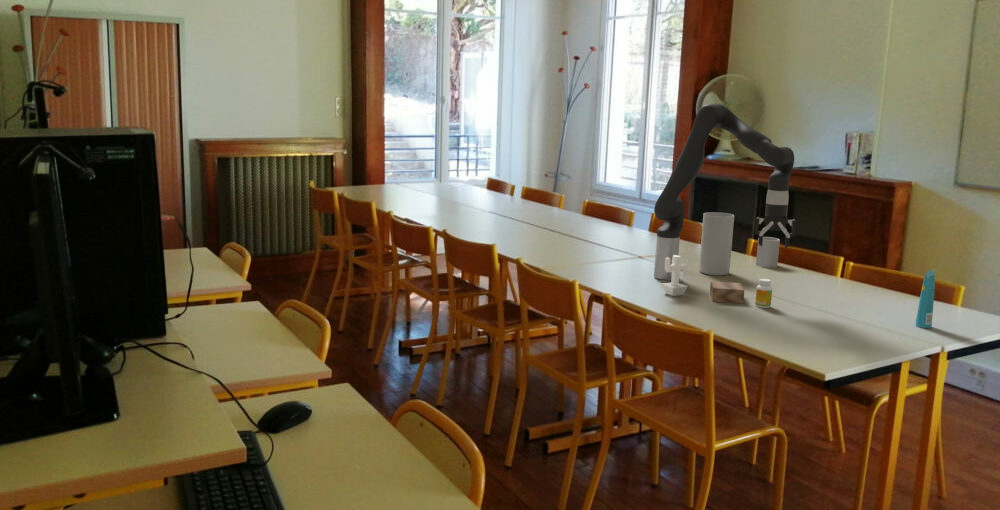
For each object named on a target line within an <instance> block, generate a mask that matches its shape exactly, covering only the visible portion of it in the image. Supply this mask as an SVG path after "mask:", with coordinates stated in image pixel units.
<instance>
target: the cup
mask: <svg viewBox="0 0 1000 510" xmlns="http://www.w3.org/2000/svg"><path fill="white" fill-rule="evenodd" d="M780 241H781V240H780V239H779V238H777V237H771V236H763V243H762V246H760V245H759V237H758V238H757V250H756V259H755V260H756V261H755V266H757V267H761V268H769V269H771V268H777V267H778V265H779V263H778V262H779V253H780V252H779V251H780V244H781V242H780Z"/></svg>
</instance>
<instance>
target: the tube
mask: <svg viewBox="0 0 1000 510" xmlns="http://www.w3.org/2000/svg"><path fill="white" fill-rule="evenodd" d="M935 276H936V275H935V269H932V270H929V271H926V272H925V274H924V278H923V283H922V286H921V291H920V296H919V301H918V307H917V314H916V319H915V326H916V327H918V328H922V329H931V328H932V324H933V314H934V302H935V284H936V281H935V279H936V278H935Z"/></svg>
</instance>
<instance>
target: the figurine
mask: <svg viewBox="0 0 1000 510" xmlns="http://www.w3.org/2000/svg"><path fill="white" fill-rule="evenodd" d="M681 258H682V257H681V255H679V256H678V255H673V258H672V265H671V264H670V262H671V259H670V258H666V259H665V271H666V272H672V277H671V280H670V281H671V282H664V283H663V282H662V283H661V286H662V288H663V291H664V293H665V294H667V295H668V296H672V297H677V296H678V297H679V296H683V295H684V293H685V292H686V290H687V289H688V288H689V285H685V284H683V283H680V277H681V278H683V279H686V278H687V271H688V268H687V267H688V266H687V264H686V263H681Z"/></svg>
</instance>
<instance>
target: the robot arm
mask: <svg viewBox="0 0 1000 510" xmlns="http://www.w3.org/2000/svg"><path fill="white" fill-rule="evenodd" d="M719 128H720V129H722V130H724V131H726V132H729V133H730V134H731V135H733V136H734V137H735V139H737V141H738V142H740V144H741V145H742V146H744V147H745V148H747V150H750V151H751V152H753V153H754V154H756V155H758V156H759V157H760V159H762V160H763V161H764V162H765V163H766V164H768V165H769V166H771V167H774V169H773V172H772V173H771V174H770V175H769V177H768V183H767V184H768V185H767V193H766V200H765V211H764V212H765V214H764V218H762V217H759V216H757V217H756V218H755V223H754V225H755V226H754V231H753V233H754V235H757V236H758V238H759V245H760V246H762V243H763V237H764V234H765V233H767V231H771V232H772V231H777V232H780V231H782V233H783V234H784V235H785V238H784V239H785V241H784V249H787V248H788V247H789V246H790V241H791V240H790V239H791V238H793V237H796V231H797V230H796V227H797V225H796V224H797V222H796V219H794V218H793V219H788V211H789V210H788V207H789V197H790V195H789V187H790V186H789V185H790V178H791V175H792V170H793V168H794V165H795V153H794V151H793V150H792V148H791V147H788V146H777V145H775V144H774V143H773V142H772V140H771V138H770V137H768V136H766V135H765V134H763V133H762V132H761V131H758V130H757V129H755V128H753V127H751V125H749V124H747V123H745V122H744V121H743V120H742V119H741V118H739V117H738V116H737V115H736V114H734V113H733V112H732V111H731V110H730V109H729V108H727V107H726V106H725V105H724V104H722V103H716V102H715V103H708V104H704V105H702V106H701V107H700V108H699V110H698V111H697V113H696V115H695V119H694V122H693V125H692V128H691V131H690V134H689V135H688V138H687V140H686V142H685V144H684V147H683V148H682V151H681V152H680V155H679V157H678V160H677V161H676V163H675V166H674V168H673V170H672V173H671V174H670V177H669V178H668V181H667V183H666V185H665V187H664V188H663V190H662V191H661V194H660V195H659V196H658V198H657V200H656V202H655V204H654V209H653V211H654V216H655V218H657V219H658V220H660V221H664V222H663V224H662V225H661V226H659V227H658V229H656V244H655V245H656V246H655V255H654V268H653V276H654V277H653V278H654V279H659V280H667V281H668V280H670V281H671V277H672V272H666V271H665V259H666V258H670V259H671V262H670V264H671V265H672V258H673V255H678V256H680V255H679V253H680V240H681V239H680V238H681V233H682V231H683V227H684V217H685V203H684V201H683V200H682V199H681V198H680V197H679V196H680V194H681V193H682V192H683V191H684V190H685V189H686V188H687V187H688V186H689V185H690V184H691V183H692V182H693V181H694V180H695V179H696V178H697V176H698V175H699V172H700V170H701V168H702V165H703V164H704V161H705V145H706V142H707V140H708V138H709V136H710V134H711V132H712V131H713V129H719ZM762 223H764V225H765V226H764V227H763V228H762V229H761V230H759V225H761V224H762ZM787 224H789V226H790V227H791V233H789V231H788V230H787V228H786V225H787Z"/></svg>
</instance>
